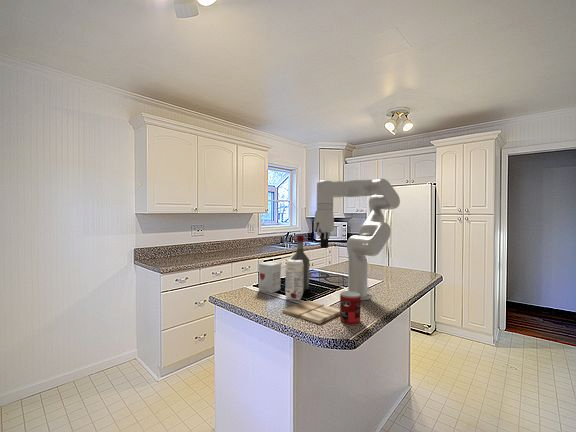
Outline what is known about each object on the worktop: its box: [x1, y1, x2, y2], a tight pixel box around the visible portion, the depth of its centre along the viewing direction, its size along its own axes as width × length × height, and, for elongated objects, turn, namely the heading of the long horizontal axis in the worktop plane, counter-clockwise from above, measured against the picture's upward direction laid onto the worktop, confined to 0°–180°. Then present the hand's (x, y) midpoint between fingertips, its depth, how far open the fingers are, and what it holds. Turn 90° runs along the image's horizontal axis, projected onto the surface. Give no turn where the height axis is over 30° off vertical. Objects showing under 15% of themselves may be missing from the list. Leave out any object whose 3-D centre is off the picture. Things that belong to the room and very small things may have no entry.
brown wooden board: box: [282, 300, 325, 319], centre depth 128 cm, size 18×9×1 cm, turn 137°
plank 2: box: [314, 304, 340, 319], centre depth 125 cm, size 8×10×1 cm
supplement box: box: [258, 261, 282, 294], centre depth 159 cm, size 9×9×15 cm
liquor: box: [290, 234, 310, 291], centre depth 164 cm, size 9×9×30 cm
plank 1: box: [300, 310, 333, 325], centre depth 118 cm, size 8×10×1 cm
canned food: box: [339, 290, 362, 325], centre depth 116 cm, size 8×8×11 cm
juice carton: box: [284, 258, 304, 301], centre depth 145 cm, size 8×9×19 cm
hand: (324, 247), depth 133 cm, fingers closed
